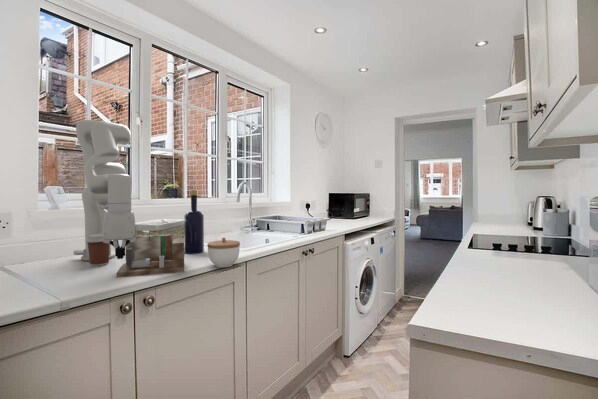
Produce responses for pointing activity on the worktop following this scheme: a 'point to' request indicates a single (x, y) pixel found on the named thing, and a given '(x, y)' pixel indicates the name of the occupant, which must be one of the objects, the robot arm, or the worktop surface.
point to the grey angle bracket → (136, 262)
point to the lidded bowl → (223, 252)
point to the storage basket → (161, 227)
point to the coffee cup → (98, 250)
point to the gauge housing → (156, 255)
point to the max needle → (161, 259)
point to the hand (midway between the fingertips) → (120, 258)
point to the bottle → (194, 228)
